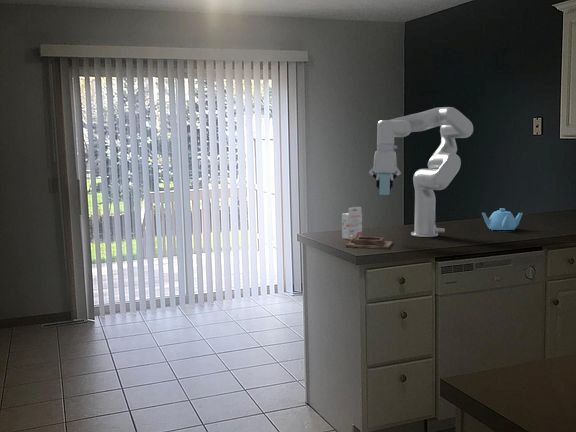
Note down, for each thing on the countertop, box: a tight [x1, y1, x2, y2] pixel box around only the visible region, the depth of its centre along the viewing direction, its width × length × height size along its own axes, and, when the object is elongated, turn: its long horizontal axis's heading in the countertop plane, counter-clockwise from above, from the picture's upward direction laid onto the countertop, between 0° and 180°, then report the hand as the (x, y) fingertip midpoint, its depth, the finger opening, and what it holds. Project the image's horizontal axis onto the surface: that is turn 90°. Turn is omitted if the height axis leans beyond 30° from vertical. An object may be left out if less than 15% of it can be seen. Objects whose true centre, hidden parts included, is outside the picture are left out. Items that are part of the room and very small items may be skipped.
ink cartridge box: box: [341, 206, 363, 240], centre depth 296 cm, size 9×5×15 cm, turn 126°
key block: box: [378, 174, 391, 196], centre depth 286 cm, size 4×8×9 cm, turn 172°
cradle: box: [345, 235, 393, 250], centre depth 276 cm, size 18×14×4 cm
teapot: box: [481, 207, 523, 231], centre depth 319 cm, size 15×15×11 cm
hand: (384, 188), depth 286 cm, fingers closed on key block, 4 cm apart
